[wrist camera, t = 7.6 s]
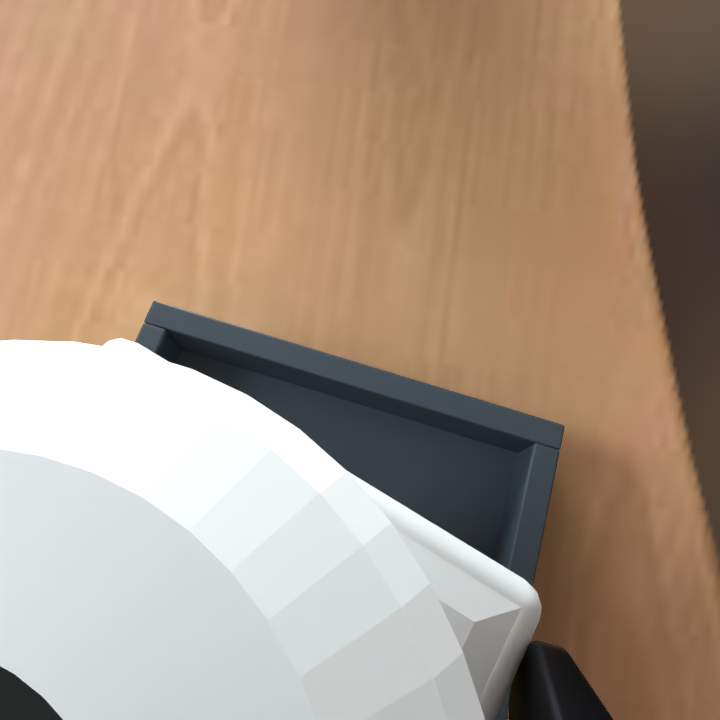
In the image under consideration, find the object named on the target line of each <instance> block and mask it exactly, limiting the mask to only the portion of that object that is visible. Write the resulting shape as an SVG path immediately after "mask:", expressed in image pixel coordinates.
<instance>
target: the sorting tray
mask: <svg viewBox="0 0 720 720" xmlns="http://www.w3.org/2000/svg"><path fill="white" fill-rule="evenodd" d="M145 323H146V324H143V326H142V328H141V330H140V332H139V334H138V337H137V339H136V341H135V342H136V343H139V344H140V345H142V346H143V347H145V348H147V349H148V350H150V351H152V352H153V353H155V354H157V355H158V356H160V357H161V358H163V359H165V360H166V361H168V362H170V363H174V364H177V365H180V366H184V367H187V368H190V369H193V370H195V371H197V372H200V373H202V374H204V375H206V376H208V377H210V378H212V379H214V380H217V381H219V382H221V383H223V384H225V385H227V386H229V387H232V388H234V389H236V390H238V391H240V392H242V393H244V394H246V395H248V396H250V397H251V398H253V399H254V400H256V401H258V402H259V403H261V404H262V405H264V406H265V407H267V408H268V409H270V410H271V411H273V412H274V413H276V414H277V415H279V416H280V417H282V418H283V419H285V420H286V421H288V422H290V423H291V424H293V425H294V426H296V427H297V428H299V429H300V430H301V431H302V432H303V433H305V434H306V435H307V436H308V437H309V438H310V439H311V440H313V441H314V442H315V443H316V444H317V445H318V446H319V447H320V448H322V449H323V450H324V451H325V452H326V453H327V454H328V455H330V456H331V457H332V458H333V459H334V460H335V461H336V462H337V463H339V464H340V465H341V466H342V467H343V468H344V469H345V470H347V471H348V472H350V473H351V474H353V475H355V476H356V477H358V478H360V479H361V480H363V481H364V482H366V483H368V484H369V485H371V486H373V487H374V488H376V489H378V490H379V491H381V492H382V493H384V494H386V495H387V496H389V497H391V498H392V499H394V500H396V501H397V502H399V503H400V504H402V505H404V506H405V507H407V508H409V509H410V510H412V511H414V512H415V513H417V514H418V515H420V516H422V517H423V518H425V519H427V520H428V521H430V522H432V523H433V524H435V525H436V526H438V527H440V528H441V529H443V530H445V531H446V532H448V533H450V534H451V535H453V536H454V537H456V538H458V539H459V540H461V541H463V542H464V543H466V544H468V545H469V546H471V547H472V548H474V549H476V550H477V551H479V552H481V553H482V554H484V555H486V556H487V557H489V558H490V559H492V560H494V561H495V562H497V563H499V564H500V565H502V566H504V567H505V568H507V569H508V570H510V571H512V572H513V573H515V574H517V575H518V576H520V577H522V578H523V579H525V580H526V581H527V582H528V583H529V584H530V585H531V586H532V587H533V582H534V577H535V572H536V567H537V562H538V557H539V552H540V547H541V542H542V537H543V532H544V527H545V522H546V516H547V511H548V506H549V501H550V496H551V491H552V486H553V481H554V476H555V471H556V466H557V461H558V456H559V449H560V447H561V442H562V437H563V432H564V425H561V424H558V423H555V422H551V421H548V420H545V419H542V418H538V417H535V416H532V415H528V414H525V413H522V412H519V411H515V410H512V409H509V408H505V407H502V406H499V405H496V404H492V403H489V402H486V401H482V400H479V399H476V398H472V397H469V396H466V395H463V394H459V393H456V392H453V391H449V390H446V389H443V388H440V387H436V386H433V385H430V384H426V383H423V382H420V381H417V380H413V379H410V378H407V377H403V376H400V375H397V374H394V373H390V372H387V371H384V370H380V369H377V368H374V367H371V366H367V365H364V364H361V363H357V362H354V361H351V360H348V359H344V358H341V357H338V356H334V355H331V354H328V353H325V352H321V351H318V350H315V349H311V348H308V347H305V346H301V345H298V344H295V343H292V342H288V341H285V340H282V339H278V338H275V337H272V336H269V335H265V334H262V333H259V332H255V331H252V330H249V329H246V328H242V327H239V326H236V325H232V324H229V323H226V322H223V321H219V320H216V319H213V318H209V317H206V316H203V315H200V314H196V313H193V312H190V311H186V310H183V309H180V308H177V307H173V306H170V305H167V304H163V303H160V302H157V301H154V302H153V303H152V306H151V308H150V310H149V312H148V314H147V316H146V319H145ZM510 687H511V685H510ZM510 687H509V690H508V692H507V694H506V696H505V699H504V701H503V703H502V705H501V707H500V710H499V712H498V714H497V716H496V719H495V720H506V718H507V713H508V708H509V694H510Z"/></svg>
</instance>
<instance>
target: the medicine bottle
mask: <svg viewBox="0 0 720 720" xmlns="http://www.w3.org/2000/svg"><path fill="white" fill-rule="evenodd" d="M541 609H542V606H541V603H540V600H539V596H538V593H537V592H536V590H535V589H534V588H533V587H532V586H531V585H530V584H529V583H528V582H527V581H526V580H525V579H523V578H522V577H520V576H518V575H517V574H515V573H513V572H512V571H510V570H508V569H507V568H505V567H504V566H502V565H500V564H499V563H497V562H495V561H494V560H492V559H490V558H489V557H487V556H486V555H484V554H482V553H481V552H479V551H477V550H476V549H474V548H472V547H471V546H469V545H468V544H466V543H464V542H463V541H461V540H459V539H458V538H456V537H454V536H453V535H451V534H450V533H448V532H446V531H445V530H443V529H441V528H440V527H438V526H436V525H435V524H433V523H432V522H430V521H428V520H427V519H425V518H423V517H422V516H420V515H418V514H417V513H415V512H414V511H412V510H410V509H409V508H407V507H405V506H404V505H402V504H400V503H399V502H397V501H396V500H394V499H392V498H391V497H389V496H387V495H386V494H384V493H382V492H381V491H379V490H378V489H376V488H374V487H373V486H371V485H369V484H368V483H366V482H364V481H363V480H361V479H360V478H358V477H356V476H355V475H353V474H351V473H350V472H348V471H347V470H345V469H344V468H343V467H342V466H341V465H340V464H339V463H337V462H336V461H335V460H334V459H333V458H332V457H331V456H330V455H328V454H327V453H326V452H325V451H324V450H323V449H322V448H320V447H319V446H318V445H317V444H316V443H315V442H314V441H313V440H311V439H310V438H309V437H308V436H307V435H306V434H305V433H303V432H302V431H301V430H300V429H299V428H297V427H296V426H294V425H293V424H291V423H290V422H288V421H286V420H285V419H283V418H282V417H280V416H279V415H277V414H276V413H274V412H273V411H271V410H270V409H268V408H267V407H265V406H264V405H262V404H261V403H259V402H258V401H256V400H254V399H253V398H251V397H250V396H248V395H246V394H244V393H242V392H240V391H238V390H236V389H234V388H232V387H229V386H227V385H225V384H223V383H221V382H219V381H217V380H214V379H212V378H210V377H208V376H206V375H204V374H202V373H200V372H197V371H195V370H193V369H190V368H187V367H184V366H180V365H177V364H174V363H170V362H168V361H166V360H165V359H163V358H161V357H160V356H158V355H157V354H155V353H153V352H152V351H150V350H148V349H147V348H145V347H143V346H142V345H140V344H139V343H136V342H132V341H129V340H125V339H122V338H120V339H115V340H110V341H108V342H107V343H106V344H104V345H103V346H97V345H91V344H85V343H79V342H66V341H31V340H5V341H0V720H495V719H496V716H497V714H498V712H499V710H500V707H501V705H502V703H503V701H504V699H505V696H506V694H507V692H508V690H509V687H510V685H511V683H512V681H513V679H514V676H515V674H516V672H517V670H518V668H519V665H520V663H521V661H522V659H523V656H524V654H525V652H526V650H527V647H528V645H529V643H530V641H531V639H532V636H533V634H534V632H535V630H536V628H537V625H538V623H539V621H540V615H541Z"/></svg>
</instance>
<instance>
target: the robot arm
mask: <svg viewBox="0 0 720 720" xmlns="http://www.w3.org/2000/svg"><path fill="white" fill-rule="evenodd" d="M509 720H613V719H612V717H611V716H610V714H609V713H608V711H607V710H606V708H605V707H604V705H603V704H602V702H601V701H600V699H599V698H598V696H597V695H596V693H595V692H594V690H593V689H592V687H591V686H590V684H589V683H588V681H587V680H586V678H585V677H584V675H583V674H582V673H581V671H580V670H579V668H578V667H577V665H576V664H575V662H574V661H573V659H572V658H571V656H570V655H569V653H568V652H567V651H566V650H565V649H563V648H562V647H559V646H556V645H552V644H547V643H543V642H539V641H533V642H531V643H530V644H529V646H528V647H527V650H526V652H525V654H524V656H523V659H522V661H521V663H520V665H519V668H518V670H517V672H516V674H515V676H514V679H513V681H512V683H511V687H510V694H509Z"/></svg>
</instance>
